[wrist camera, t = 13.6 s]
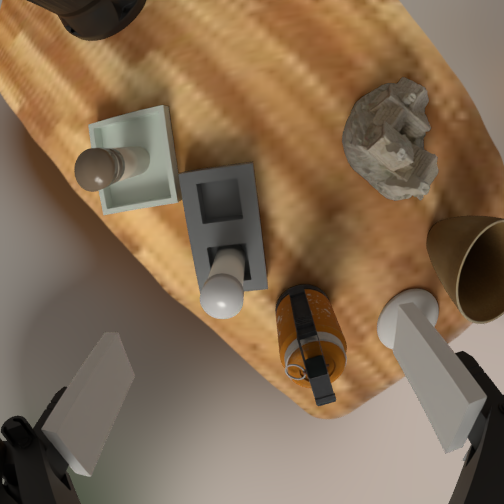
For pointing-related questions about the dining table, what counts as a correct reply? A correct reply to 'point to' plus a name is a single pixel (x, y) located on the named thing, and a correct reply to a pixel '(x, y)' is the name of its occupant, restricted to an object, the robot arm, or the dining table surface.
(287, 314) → the canister
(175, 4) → the dining table surface
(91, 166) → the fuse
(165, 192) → the parts tray
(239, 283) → the cylinder
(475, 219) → the plant pot
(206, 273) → the block
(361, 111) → the grey jagged lump
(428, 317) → the candlestick
